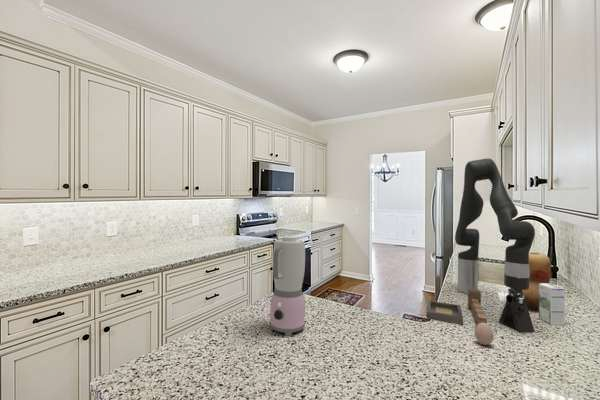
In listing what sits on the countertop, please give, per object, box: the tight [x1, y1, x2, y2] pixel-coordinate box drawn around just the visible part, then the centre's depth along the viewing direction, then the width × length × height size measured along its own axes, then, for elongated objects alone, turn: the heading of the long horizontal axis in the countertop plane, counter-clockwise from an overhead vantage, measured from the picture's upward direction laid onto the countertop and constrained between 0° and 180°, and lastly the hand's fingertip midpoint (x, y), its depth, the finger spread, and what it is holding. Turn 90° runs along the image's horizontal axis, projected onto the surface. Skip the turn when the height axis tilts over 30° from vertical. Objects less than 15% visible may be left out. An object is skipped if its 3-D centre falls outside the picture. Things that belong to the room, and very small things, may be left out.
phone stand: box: [498, 294, 535, 333], centre depth 106 cm, size 9×6×12 cm, turn 9°
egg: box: [474, 323, 494, 346], centre depth 92 cm, size 5×5×7 cm
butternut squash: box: [522, 251, 552, 310], centre depth 127 cm, size 14×13×25 cm
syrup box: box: [538, 282, 566, 326], centre depth 112 cm, size 6×6×14 cm
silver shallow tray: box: [426, 299, 464, 326], centre depth 117 cm, size 15×12×3 cm
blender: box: [269, 235, 306, 337], centre depth 99 cm, size 16×12×32 cm
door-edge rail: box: [467, 289, 488, 326], centre depth 113 cm, size 28×4×8 cm, turn 154°
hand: (516, 320), depth 106 cm, fingers open, 4 cm apart
